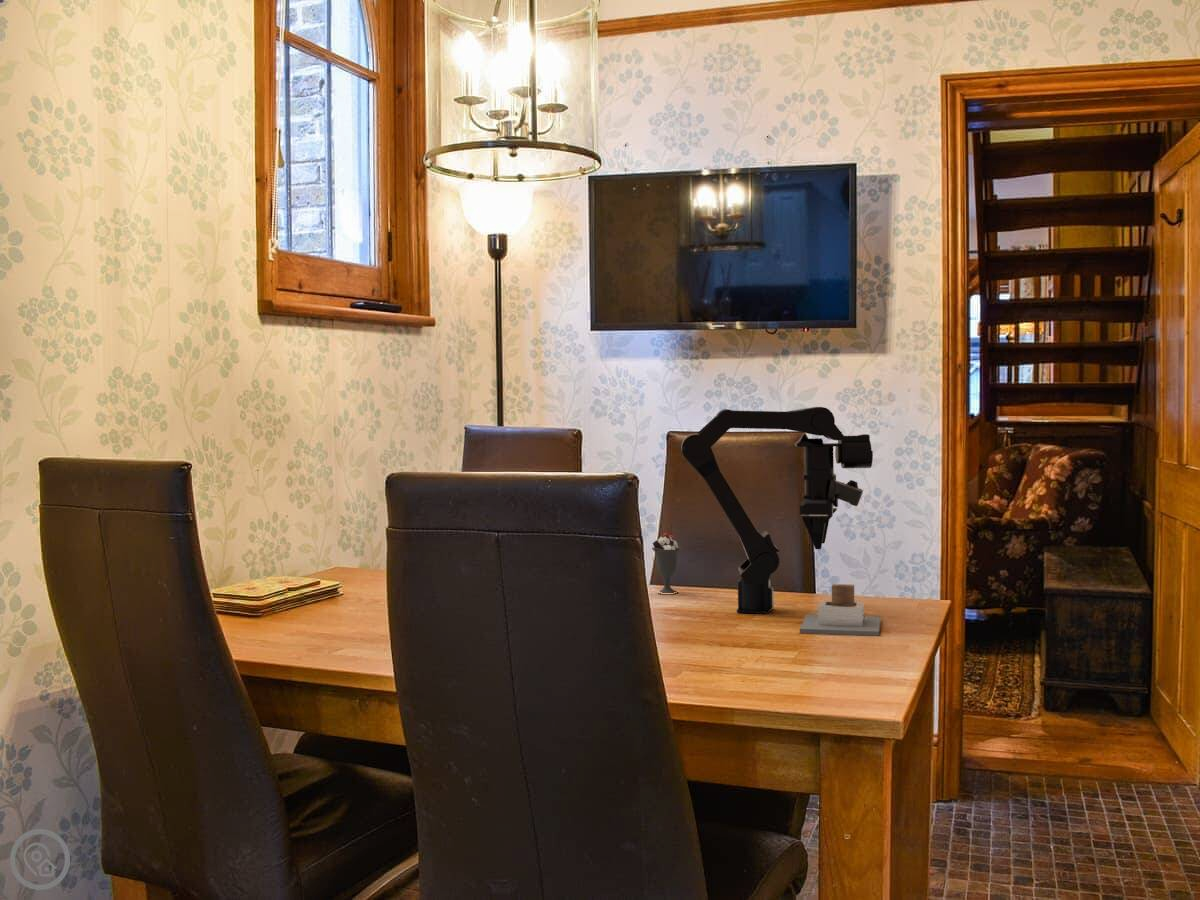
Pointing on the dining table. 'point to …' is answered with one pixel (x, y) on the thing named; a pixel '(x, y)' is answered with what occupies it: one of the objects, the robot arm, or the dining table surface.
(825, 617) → the white hollow frame
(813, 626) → the slate board
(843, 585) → the wooden block
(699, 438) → the robot arm
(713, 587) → the dining table surface
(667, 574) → the sundae
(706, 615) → the dining table surface
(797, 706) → the dining table surface
